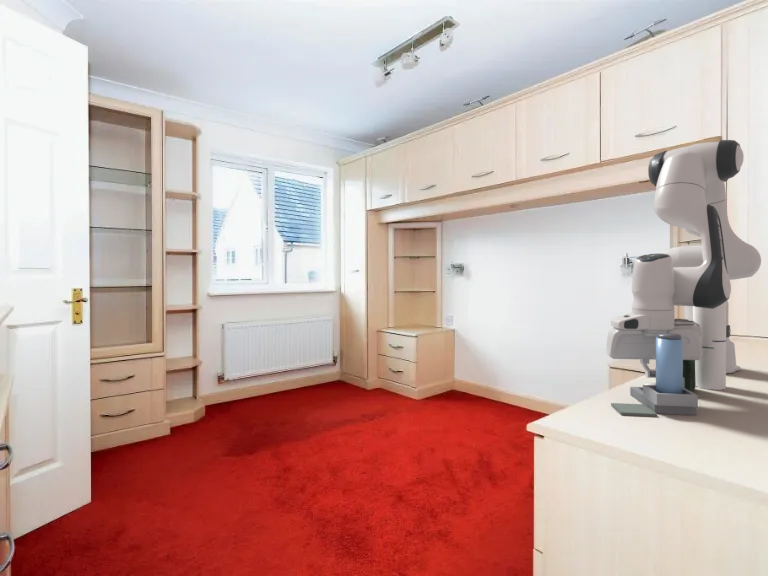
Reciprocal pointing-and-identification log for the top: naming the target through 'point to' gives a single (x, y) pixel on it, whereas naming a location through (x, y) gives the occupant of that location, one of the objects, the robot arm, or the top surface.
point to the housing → (666, 400)
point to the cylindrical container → (711, 347)
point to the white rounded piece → (649, 383)
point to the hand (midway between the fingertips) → (652, 377)
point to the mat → (633, 409)
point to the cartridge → (669, 364)
